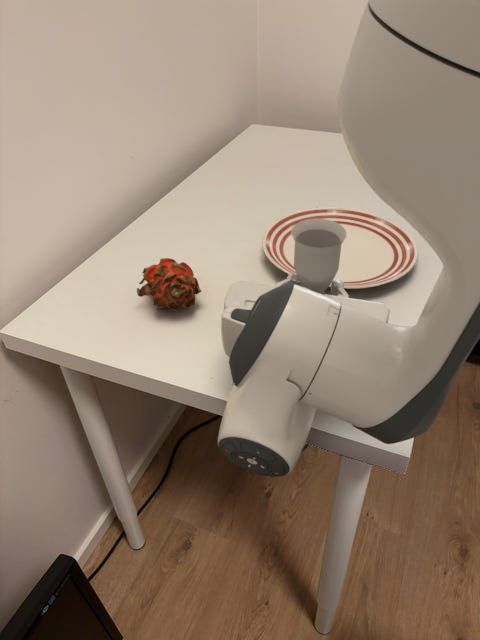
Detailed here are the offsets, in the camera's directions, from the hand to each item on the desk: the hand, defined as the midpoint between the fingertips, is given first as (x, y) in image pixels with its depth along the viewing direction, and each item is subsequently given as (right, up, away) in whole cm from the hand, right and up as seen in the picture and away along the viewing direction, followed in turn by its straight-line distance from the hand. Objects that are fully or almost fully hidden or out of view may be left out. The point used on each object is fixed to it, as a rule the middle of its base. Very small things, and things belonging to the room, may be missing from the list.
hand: (315, 281), depth 66 cm
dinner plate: (+8, +6, +23) cm, 25 cm away
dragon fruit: (-22, -3, +14) cm, 26 cm away
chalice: (0, -8, +6) cm, 10 cm away
